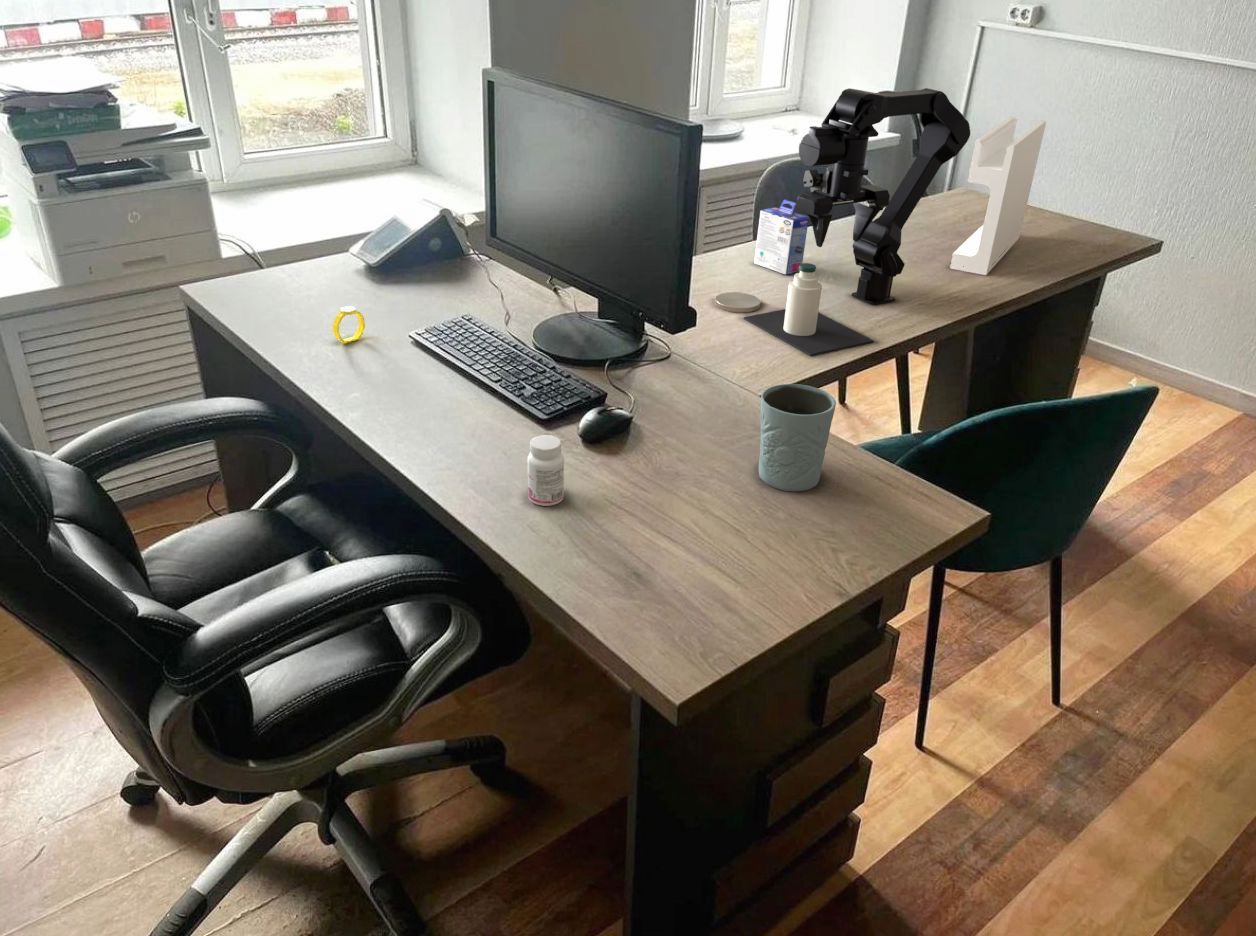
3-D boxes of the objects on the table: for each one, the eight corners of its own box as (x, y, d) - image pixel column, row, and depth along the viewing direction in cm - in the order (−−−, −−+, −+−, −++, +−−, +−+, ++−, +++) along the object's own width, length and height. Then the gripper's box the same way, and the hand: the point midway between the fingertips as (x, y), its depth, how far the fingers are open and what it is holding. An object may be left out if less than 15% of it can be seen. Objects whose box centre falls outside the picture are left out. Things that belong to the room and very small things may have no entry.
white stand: (986, 275, 223) (1014, 145, 209) (949, 268, 226) (975, 140, 212) (1019, 238, 249) (1046, 121, 236) (986, 232, 253) (1011, 116, 239)
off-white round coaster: (742, 294, 206) (742, 289, 206) (768, 308, 199) (769, 303, 199) (705, 300, 202) (706, 295, 201) (732, 315, 195) (732, 310, 195)
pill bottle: (527, 488, 136) (527, 433, 131) (563, 488, 136) (563, 433, 132) (527, 507, 131) (527, 450, 127) (564, 506, 132) (564, 450, 128)
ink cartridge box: (803, 271, 220) (811, 205, 213) (786, 276, 217) (794, 209, 210) (769, 259, 227) (776, 195, 219) (753, 264, 223) (759, 198, 216)
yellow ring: (341, 347, 174) (338, 315, 171) (331, 343, 176) (327, 311, 173) (369, 338, 178) (365, 306, 176) (358, 334, 180) (355, 302, 177)
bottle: (801, 322, 192) (810, 258, 186) (822, 333, 188) (831, 268, 182) (776, 327, 190) (784, 263, 183) (796, 338, 185) (805, 272, 179)
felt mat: (804, 307, 201) (804, 305, 201) (873, 342, 186) (873, 340, 186) (743, 318, 194) (744, 316, 194) (810, 356, 179) (810, 354, 179)
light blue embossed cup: (775, 499, 136) (785, 419, 130) (739, 464, 144) (747, 388, 138) (838, 486, 139) (851, 408, 133) (799, 453, 147) (810, 378, 141)
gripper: (857, 148, 197) (846, 227, 205) (782, 156, 189) (773, 238, 197) (897, 161, 189) (884, 242, 197) (821, 169, 181) (810, 254, 188)
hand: (837, 243), depth 195 cm, fingers open, 9 cm apart
